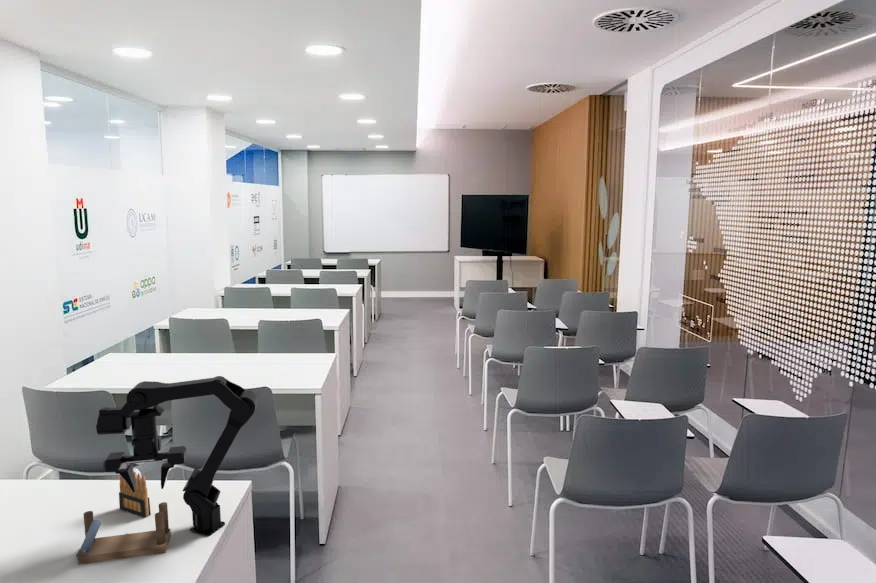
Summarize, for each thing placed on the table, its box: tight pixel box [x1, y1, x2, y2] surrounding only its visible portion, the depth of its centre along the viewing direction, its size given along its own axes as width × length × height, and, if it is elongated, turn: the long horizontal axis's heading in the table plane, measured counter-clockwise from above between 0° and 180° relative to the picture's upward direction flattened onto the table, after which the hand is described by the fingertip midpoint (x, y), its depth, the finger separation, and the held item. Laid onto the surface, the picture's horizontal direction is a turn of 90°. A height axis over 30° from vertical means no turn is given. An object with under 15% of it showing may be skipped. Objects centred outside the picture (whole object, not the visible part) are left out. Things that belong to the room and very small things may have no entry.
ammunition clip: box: [118, 471, 152, 519], centre depth 166 cm, size 11×2×12 cm, turn 64°
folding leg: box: [80, 519, 102, 554], centre depth 143 cm, size 2×2×8 cm
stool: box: [75, 501, 172, 566], centre depth 147 cm, size 20×8×10 cm, turn 105°
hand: (148, 489), depth 154 cm, fingers open, 6 cm apart
